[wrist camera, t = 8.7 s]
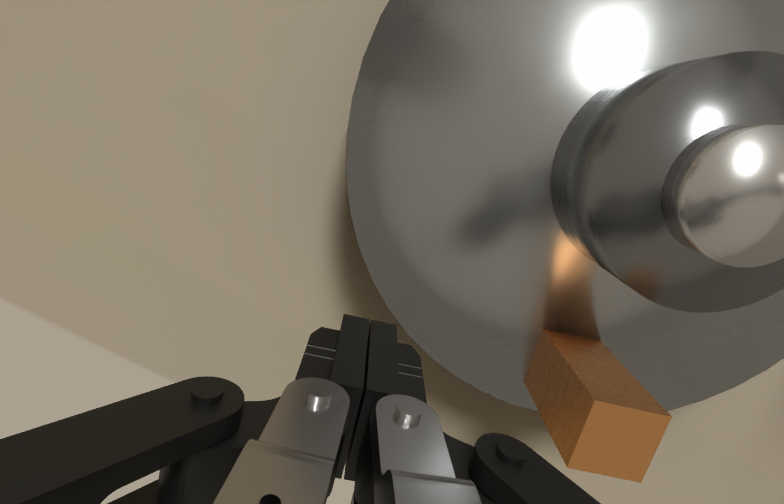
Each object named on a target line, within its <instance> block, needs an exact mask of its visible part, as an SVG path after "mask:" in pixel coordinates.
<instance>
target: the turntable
mask: <svg viewBox="0 0 784 504" xmlns="http://www.w3.org/2000/svg"><path fill="white" fill-rule="evenodd" d="M744 51H769V52H775V53H780V54H784V0H389V2H388V4H387V6H386V7H385V9H384V11H383V13H382V14H381V16H380V18H379V21H378V23H377V26H376V28H375V30H374V33H373V35H372V38H371V40H370V43H369V45H368V47H367V50H366V52H365V55H364V57H363V61H362V64H361V68H360V72H359V75H358V79H357V83H356V86H355V90H354V93H353V97H352V104H351V111H350V118H349V125H348V132H347V149H346V180H347V188H348V197H349V205H350V214H351V218H352V222H353V225H354V229H355V233H356V237H357V241H358V245H359V249H360V251H361V254H362V256H363V259H364V261H365V264H366V266H367V269H368V271H369V274H370V276H371V279H372V281H373V283H374V284H375V286H376V288H377V290H378V291H379V293H380V295H381V297H382V298H383V300H384V302H385V304H386V306H387V307H388V309H389V310H390V312H391V313H392V314H393V316H394V317H395V318H396V320H397V321H398V322H399V324H400V325H401V326H402V327H403V329H404V330H405V331H406V333H407V334H408V335H409V336H410V337H411V338H412V339H413V340H414V341H415V342H416V343H417V344H418V345H419V346H420V347H421V348H422V349H423V350H424V351H425V352H426V353H427V354H428V355H429V356H430V357H431V358H432V359H433V360H435V361H436V362H437V363H438V364H440V365H441V366H442V367H444V368H445V369H446V370H448V371H449V372H450V373H452V374H453V375H454V376H455V377H457V378H459V379H460V380H462V381H464V382H466V383H467V384H469V385H471V386H473V387H474V388H476V389H478V390H480V391H481V392H483V393H486V394H488V395H490V396H493V397H495V398H498V399H500V400H502V401H505V402H507V403H510V404H512V405H516V406H519V407H523V408H526V409H530V410H534V411H537V412H539V413H540V415H541V417H542V419H543V421H544V423H545V425H546V427H547V429H548V431H549V433H550V435H551V437H552V439H553V441H554V443H555V445H556V447H557V449H558V451H559V452H560V454H561V456H562V458H563V460H564V462H565V464H566V466H567V468H572V469H577V470H582V471H587V472H592V473H596V474H601V475H606V476H611V477H616V478H621V479H626V480H631V481H636V482H642V480H643V477H644V475H645V473H646V471H647V469H648V467H649V465H650V462H651V460H652V458H653V456H654V454H655V452H656V450H657V448H658V445H659V443H660V441H661V439H662V437H663V435H664V433H665V431H666V428H667V426H668V424H669V422H670V420H671V418H672V417H671V415H670V414H669V413H668V412H667V411H668V410H673V409H676V408H679V407H682V406H686V405H689V404H692V403H696V402H699V401H702V400H705V399H707V398H710V397H712V396H715V395H717V394H719V393H722V392H724V391H726V390H729V389H731V388H734V387H736V386H738V385H740V384H741V383H743V382H745V381H747V380H749V379H750V378H752V377H754V376H756V375H758V374H760V373H761V372H763V371H765V370H767V369H768V368H770V367H771V366H773V365H774V364H776V363H777V362H779V361H780V360H781V359H783V358H784V288H783V289H782V290H780V291H778V292H777V293H775V294H773V295H771V296H769V297H767V298H765V299H763V300H760V301H758V302H756V303H753V304H750V305H747V306H744V307H741V308H737V309H732V310H727V311H722V312H710V313H697V312H686V311H680V310H674V309H671V308H668V307H664V306H661V305H659V304H657V303H655V302H652V301H650V300H648V299H646V298H645V297H643V296H642V295H640V294H639V293H637V292H636V291H634V290H633V289H631V288H630V287H628V286H627V285H626V284H624V283H623V282H621V281H620V280H619V279H617V278H616V277H614V276H613V275H612V274H610V273H609V272H607V271H606V270H605V269H603V268H602V267H600V266H599V265H598V264H596V263H595V262H593V261H592V260H590V259H589V258H588V257H586V256H585V255H583V254H582V253H581V252H580V251H579V250H578V249H577V248H575V247H574V245H573V244H572V243H571V242H570V241H569V240H568V238H567V237H566V235H565V234H564V232H563V231H562V229H561V227H560V225H559V223H558V221H557V218H556V216H555V212H554V209H553V205H552V199H551V192H550V178H551V170H552V164H553V160H554V156H555V152H556V149H557V147H558V144H559V142H560V139H561V137H562V135H563V133H564V132H565V130H566V128H567V126H568V124H569V123H570V122H571V120H572V119H573V117H574V116H575V115H576V113H577V112H578V111H579V110H580V109H581V108H582V106H583V105H584V104H585V103H586V102H587V101H588V100H589V99H590V98H592V97H593V96H594V95H595V94H596V93H597V92H599V91H600V90H601V89H603V88H604V87H606V86H607V85H609V84H610V83H612V82H614V81H616V80H618V79H620V78H622V77H623V76H626V75H629V74H631V73H634V72H637V71H641V70H645V69H649V68H654V67H659V66H664V65H670V64H675V63H680V62H685V61H691V60H696V59H701V58H706V57H712V56H717V55H722V54H728V53H733V52H744Z"/></svg>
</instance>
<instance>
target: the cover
mask: <svg viewBox="0 0 784 504" xmlns="http://www.w3.org/2000/svg"><path fill="white" fill-rule="evenodd" d="M550 192H551V199H552V205H553V209H554V212H555V216H556V218H557V221H558V223H559V225H560V227H561V229H562V231H563V232H564V234H565V235H566V237H567V238H568V240H569V241H570V242H571V243H572V244H573V245H574V247H575V248H577V249H578V250H579V251H580V252H581V253H582V254H583V255H585V256H586V257H588V258H589V259H590V260H592V261H593V262H595V263H596V264H598V265H599V266H600V267H602V268H603V269H605V270H606V271H607V272H609V273H610V274H612V275H613V276H614V277H616V278H617V279H619V280H620V281H621V282H623V283H624V284H626V285H627V286H628V287H630V288H631V289H633V290H634V291H636V292H637V293H639V294H640V295H642V296H643V297H645V298H646V299H648V300H650V301H652V302H655V303H657V304H659V305H661V306H664V307H668V308H671V309H674V310H680V311H686V312H697V313H710V312H722V311H727V310H732V309H737V308H741V307H744V306H747V305H750V304H753V303H756V302H758V301H760V300H763V299H765V298H767V297H769V296H771V295H773V294H775V293H777V292H778V291H780V290H782V289H783V288H784V54H780V53H775V52H769V51H744V52H733V53H728V54H722V55H717V56H712V57H706V58H701V59H696V60H691V61H685V62H680V63H675V64H670V65H664V66H659V67H654V68H649V69H645V70H641V71H637V72H634V73H631V74H629V75H626V76H623V77H622V78H620V79H618V80H616V81H614V82H612V83H610V84H609V85H607V86H606V87H604V88H603V89H601V90H600V91H599V92H597V93H596V94H595V95H594V96H593V97H592V98H590V99H589V100H588V101H587V102H586V103H585V104H584V105H583V106H582V108H581V109H580V110H579V111H578V112H577V113H576V115H575V116H574V117H573V119H572V120H571V122H570V123H569V124H568V126H567V128H566V130H565V132H564V133H563V135H562V137H561V139H560V142H559V144H558V147H557V149H556V152H555V156H554V160H553V164H552V170H551V178H550Z"/></svg>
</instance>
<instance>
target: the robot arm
mask: <svg viewBox="0 0 784 504" xmlns="http://www.w3.org/2000/svg"><path fill="white" fill-rule="evenodd" d="M368 327H369V328H368ZM346 457H347V458H346ZM345 461H346V466H345V475H344V479H346V480H352V481H355V487H354V488H355V489H354V493H353V497H352V500H351V504H600V503H599V502H598V501H596V500H595V499H594V498H593V497H591V496H590V495H589V494H588V493H586V492H585V491H584V490H583V489H581V488H580V487H579V486H578V485H576V484H575V483H574V482H572V481H571V480H570V479H569V478H567V477H566V476H565V475H564V474H562V473H561V472H560V471H559V470H557V469H556V468H555V467H554V466H552V465H551V464H550V463H548V462H547V461H546V460H545V459H543V458H542V457H541V456H540V455H538V454H537V453H536V452H535V451H533V450H532V449H531V448H530V447H528V446H527V445H525V444H524V443H522V442H521V441H519V440H517V439H515V438H512V437H510V436H507V435H503V434H497V433H490V434H485V435H483V436H481V437H480V438H479V439H478V440H477V442H476V445H475V447H473V446H471V445H469V444H466V443H464V442H462V441H459V440H457V439H455V438H453V437H451V436H449V435H447V434H446V433H444V432H443V431H442V428H441V425H440V421H439V418H438V415H437V414H436V412H435V411H434V410H433V409H432V408H431V407H430V406H429V405H427V402H426V395H425V388H424V381H423V374H422V369H421V360H420V356H419V355H418V353H417V352H416V351H415V350H414V348H413V347H412V346H411V345H406V344H401V343H397V327H396V325H394V324H389V323H384V322H380V321H375V320H371V321H370V324H369V319H365V318H360V317H356V316H351V315H346V314H344V316H343V320H342V325H341V329H340V331H338V330H333V329H329V328H324V327H321V328H319V329H318V330H316V331H315V332H313V333H312V334H311V335H310V338H309V341H308V344H307V347H306V350H305V353H304V355H303V358H302V361H301V364H300V367H299V370H298V373H297V376H296V378H295V381H293V382H291V383H290V384H288V385H287V387H286V388H285V390H284V392H283V394H282V396H281V397H278V398H275V399H272V400H266V401H244V394H243V391H242V390H241V388H240V387H239V386H237V385H236V384H235V383H233V382H231V381H229V380H226V379H222V378H218V377H196V378H191V379H187V380H184V381H181V382H178V383H174V384H171V385H168V386H165V387H162V388H159V389H156V390H153V391H150V392H146V393H143V394H140V395H137V396H134V397H131V398H128V399H125V400H121V401H118V402H115V403H112V404H109V405H106V406H103V407H100V408H96V409H93V410H90V411H87V412H84V413H81V414H78V415H75V416H72V417H69V418H65V419H62V420H59V421H56V422H53V423H50V424H47V425H43V426H40V427H37V428H34V429H31V430H28V431H25V432H22V433H19V434H15V435H12V436H9V437H6V438H3V439H0V504H100V503H101V502H102V501H103V500H104V499H105V498H106V497H107V496H108V495H109V494H111V493H112V492H114V491H115V490H117V489H119V488H121V487H123V486H125V485H127V484H129V483H132V482H134V481H136V480H138V479H140V478H142V477H145V476H147V475H149V474H151V473H153V472H155V471H158V470H160V473H159V479H158V480H156V481H154V482H152V483H150V484H148V485H146V486H143V487H141V488H139V489H137V490H135V491H133V492H131V493H129V494H127V495H124V496H123V497H120V498H118V499H116V500H114V501H112V502H110V503H108V504H325V503H326V500H327V498H328V496H329V495H330V493H331V491H332V488H333V484H334V480H335V478H340V479H341V477H342V472H343V469H344V465H345Z"/></svg>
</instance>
